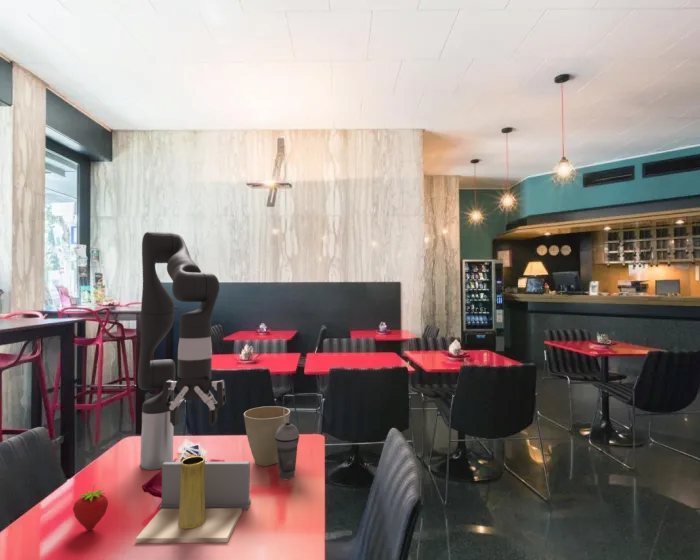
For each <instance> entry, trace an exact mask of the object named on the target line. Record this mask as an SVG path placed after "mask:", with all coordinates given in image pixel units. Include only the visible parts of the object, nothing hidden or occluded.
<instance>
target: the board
mask: <svg viewBox="0 0 700 560" xmlns="http://www.w3.org/2000/svg"><path fill="white" fill-rule="evenodd" d="M241 509H242V508H214V509H205V515H206V520H205V522H204V523H203V524H202V525H200V526H198V527H196V528H193V529H182V528H180V527H179V526H178V521H179V509H161V510H160V511H159V510H158V512H157V513H156V514H155V515H154V516H153V518H152V519H151V520H150V521H149V522H148V524H147V525H145V527H144V528H143V529H142V531H140V533H139V534H138V535H137V536H136V537H135V544H167V543H169V544H175V543H176V544H178V543H179V544H180V543H181V544H184V543H185V544H187V543H189V544H192V543H204V544H205V543H228V542H229V539H230V538H231V535H232V534H233V531H234V529H235V527H236V525H237V523H238V520H239V518H240V516H241V514H242V510H241Z"/></svg>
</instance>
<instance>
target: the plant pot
mask: <svg viewBox="0 0 700 560" xmlns="http://www.w3.org/2000/svg"><path fill="white" fill-rule="evenodd" d="M283 409H285V419H286V423H290V422H289V421H290V416H291V410H290V409H289V408H287V407H284V406H279V405H278V406H274V405H273V406H272V405H271V406H270V405H269V406H267V405H266V406H260V407H254V408H250V409H248V410H246V411H245V412H244V413H243V418H244V426H245V427H244V428H245V431H246V437H247V441H248V444H249V448H250V452H251V454H252V458H253V460H254V463H255V464H256V465H257V466H260V467H261V466H262V467H263V466H264V467H267V466H272V465H274V464H278V456H277V445H276V440H275V436H276V432H277V430H278V428H279V427H280V426H281V425H282V424H284V415H283Z"/></svg>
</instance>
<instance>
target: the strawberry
mask: <svg viewBox="0 0 700 560" xmlns="http://www.w3.org/2000/svg"><path fill="white" fill-rule="evenodd" d="M95 487H96V484H94V485H93V490H92V491H87V493H80V494H79V496H81V497H79V498H78V499H77V500H76V501H75V502H74V503H73V507H72V511H73V515H74V517H75V519H76V520H77V521H78V523H80V525H81V526H82V527H84V528H85V530H86V531H92V530H93V529H94V528H95V527H96V525H98V523H99V522H101V520H102V518H103V517H104V515H105V513H106V512H107V508H108V505H109V502H108V501H109V499H108V497H106V496H105V494H106V492H102V491H104V488H101V489H98V490H95Z"/></svg>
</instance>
